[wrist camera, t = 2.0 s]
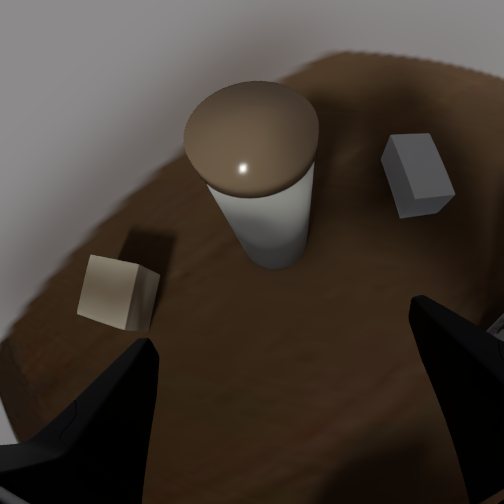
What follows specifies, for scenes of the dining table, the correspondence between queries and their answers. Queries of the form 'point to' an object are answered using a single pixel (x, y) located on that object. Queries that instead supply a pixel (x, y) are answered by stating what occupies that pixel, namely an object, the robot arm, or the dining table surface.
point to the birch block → (118, 293)
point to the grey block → (416, 175)
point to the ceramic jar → (258, 165)
